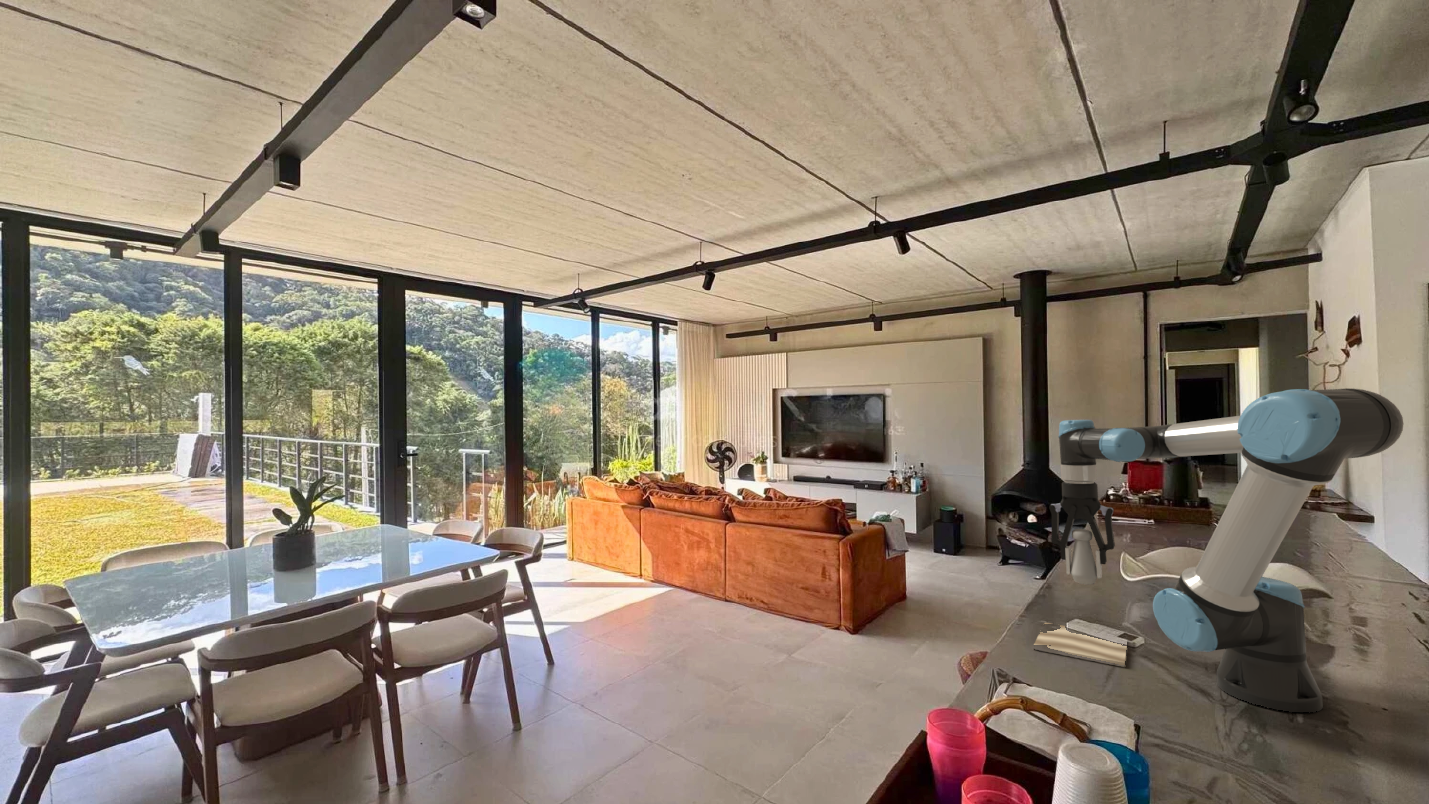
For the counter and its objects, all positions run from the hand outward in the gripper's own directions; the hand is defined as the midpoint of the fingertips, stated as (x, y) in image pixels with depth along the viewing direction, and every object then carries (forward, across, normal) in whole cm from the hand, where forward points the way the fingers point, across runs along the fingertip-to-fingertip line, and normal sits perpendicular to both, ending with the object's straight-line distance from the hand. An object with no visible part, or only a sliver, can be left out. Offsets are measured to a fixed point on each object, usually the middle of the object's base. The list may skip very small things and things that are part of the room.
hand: (1084, 574), depth 141 cm
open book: (+17, +1, +3) cm, 17 cm away
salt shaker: (+2, 0, 0) cm, 2 cm away
